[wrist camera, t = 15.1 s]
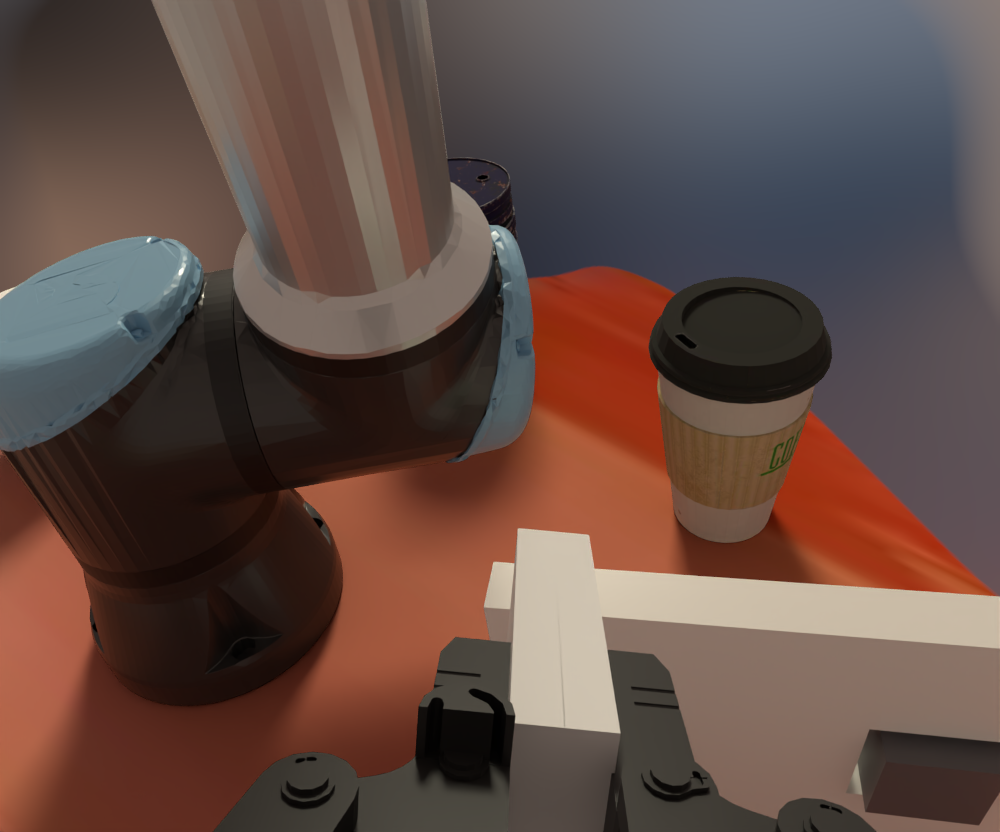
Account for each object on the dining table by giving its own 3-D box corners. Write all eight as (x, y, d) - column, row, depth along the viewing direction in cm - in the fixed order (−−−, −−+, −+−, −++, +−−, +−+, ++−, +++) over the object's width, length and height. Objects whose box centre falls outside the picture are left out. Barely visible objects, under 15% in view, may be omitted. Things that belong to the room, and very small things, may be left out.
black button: (865, 812, 32) (886, 762, 29) (843, 673, 36) (860, 619, 34) (978, 825, 31) (1010, 775, 28) (942, 682, 35) (967, 627, 33)
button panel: (526, 829, 40) (483, 607, 29) (541, 716, 45) (511, 483, 33) (973, 888, 37) (1135, 659, 25) (942, 758, 41) (1067, 511, 29)
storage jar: (425, 395, 67) (391, 229, 57) (404, 330, 74) (370, 173, 65) (543, 365, 68) (528, 198, 59) (510, 305, 76) (492, 147, 66)
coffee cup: (833, 525, 53) (879, 331, 43) (706, 590, 50) (725, 399, 40) (733, 437, 60) (754, 253, 50) (617, 489, 57) (614, 306, 47)
